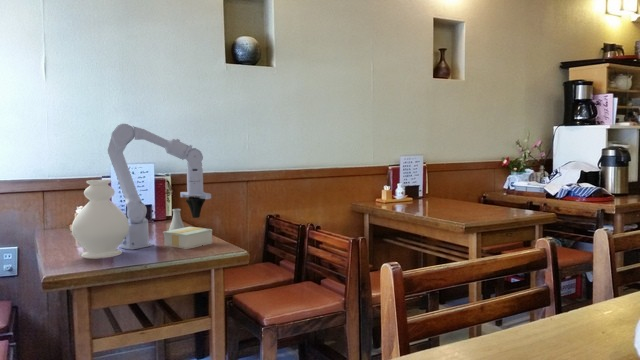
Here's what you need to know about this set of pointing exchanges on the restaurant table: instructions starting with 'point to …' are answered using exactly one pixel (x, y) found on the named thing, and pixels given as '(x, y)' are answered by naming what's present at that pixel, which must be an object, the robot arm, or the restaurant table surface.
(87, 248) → the decorative vase
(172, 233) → the box lid
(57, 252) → the restaurant table surface
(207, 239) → the parcel box
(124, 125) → the robot arm
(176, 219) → the flask
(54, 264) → the restaurant table surface
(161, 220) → the restaurant table surface
